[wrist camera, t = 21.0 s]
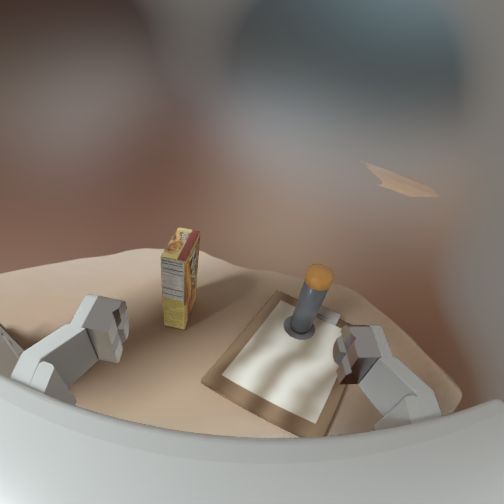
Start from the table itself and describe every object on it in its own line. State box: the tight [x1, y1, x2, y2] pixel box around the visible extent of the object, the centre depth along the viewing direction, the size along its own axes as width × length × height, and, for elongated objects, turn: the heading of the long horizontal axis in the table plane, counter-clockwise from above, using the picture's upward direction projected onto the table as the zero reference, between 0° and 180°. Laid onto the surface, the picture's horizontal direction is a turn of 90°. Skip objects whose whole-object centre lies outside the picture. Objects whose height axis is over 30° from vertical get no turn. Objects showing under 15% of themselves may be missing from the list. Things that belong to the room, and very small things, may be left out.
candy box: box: [161, 228, 200, 330], centre depth 48 cm, size 9×4×15 cm, turn 175°
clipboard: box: [201, 290, 351, 438], centre depth 46 cm, size 20×26×2 cm
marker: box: [290, 264, 334, 335], centre depth 48 cm, size 4×4×13 cm
